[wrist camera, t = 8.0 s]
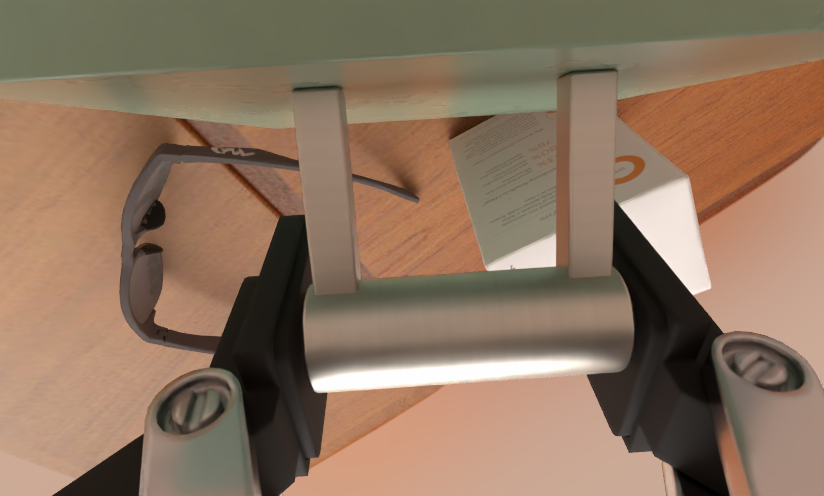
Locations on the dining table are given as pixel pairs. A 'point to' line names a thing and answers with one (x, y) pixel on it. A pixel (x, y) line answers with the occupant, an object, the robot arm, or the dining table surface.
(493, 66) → the bin lid
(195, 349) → the sunglasses
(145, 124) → the dining table surface
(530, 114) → the small box
